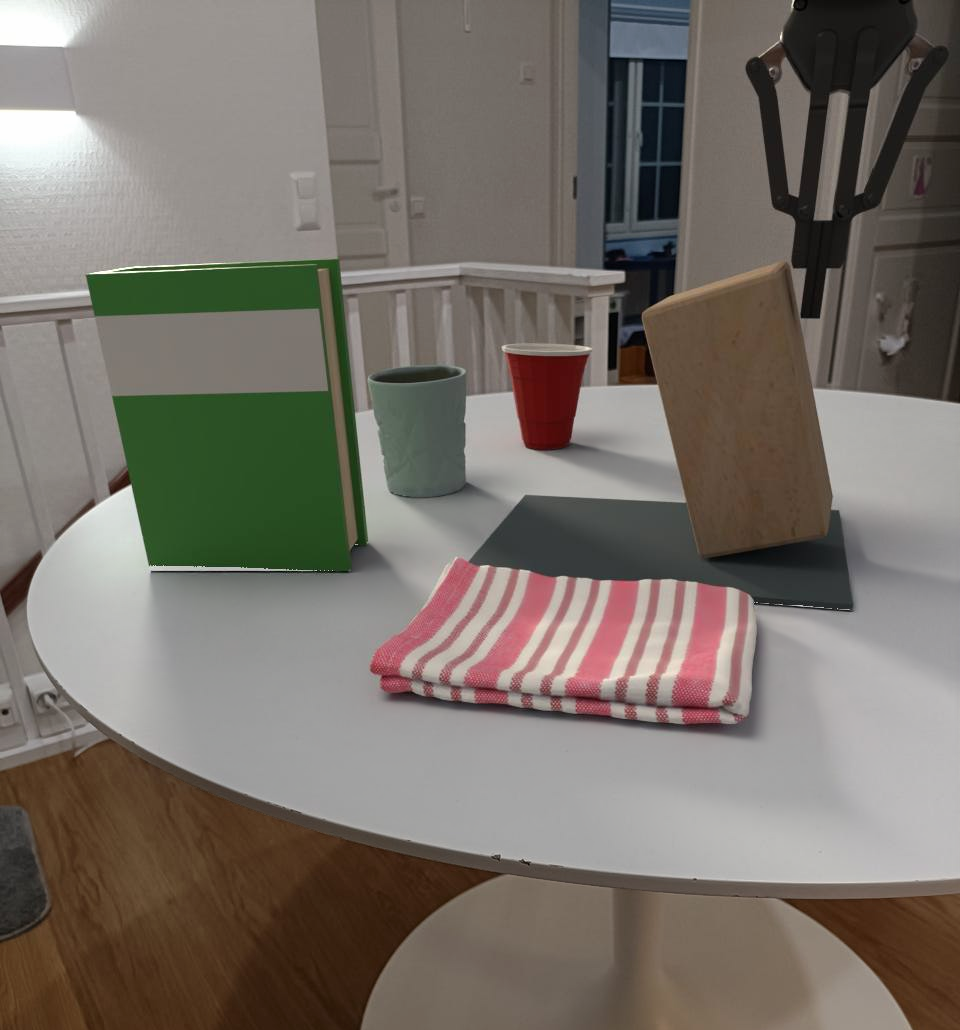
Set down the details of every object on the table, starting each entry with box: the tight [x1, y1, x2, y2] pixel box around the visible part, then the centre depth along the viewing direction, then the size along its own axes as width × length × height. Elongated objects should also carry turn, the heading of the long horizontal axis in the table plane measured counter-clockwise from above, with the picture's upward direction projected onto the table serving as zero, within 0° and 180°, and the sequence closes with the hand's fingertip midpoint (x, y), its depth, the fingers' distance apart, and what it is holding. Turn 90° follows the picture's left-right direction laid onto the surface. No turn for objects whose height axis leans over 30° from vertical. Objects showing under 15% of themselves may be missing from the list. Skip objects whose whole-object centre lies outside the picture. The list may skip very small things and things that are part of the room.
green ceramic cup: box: [367, 364, 468, 498], centre depth 96 cm, size 10×10×12 cm
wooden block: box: [641, 260, 834, 558], centre depth 72 cm, size 10×10×20 cm
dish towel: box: [369, 556, 758, 725], centre depth 60 cm, size 17×23×4 cm
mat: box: [467, 494, 854, 611], centre depth 79 cm, size 30×22×1 cm
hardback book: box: [85, 257, 369, 572], centre depth 76 cm, size 18×7×24 cm, turn 84°
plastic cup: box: [501, 343, 594, 451], centre depth 111 cm, size 11×11×12 cm
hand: (809, 316), depth 68 cm, fingers closed
